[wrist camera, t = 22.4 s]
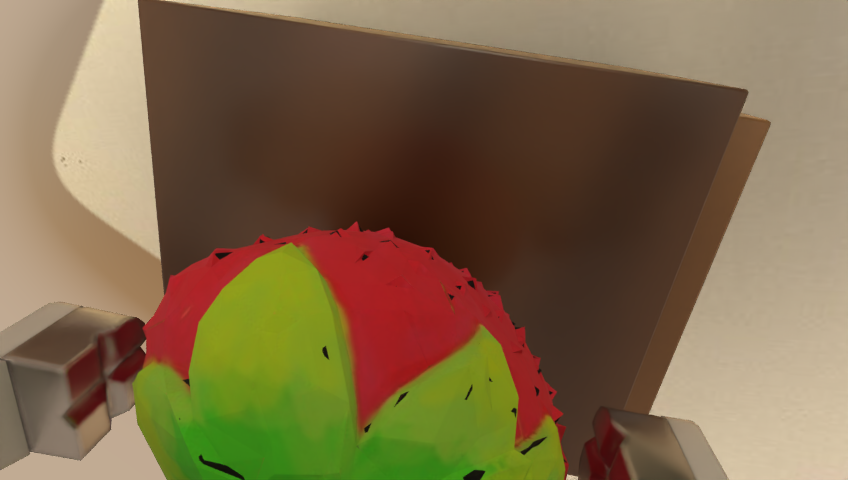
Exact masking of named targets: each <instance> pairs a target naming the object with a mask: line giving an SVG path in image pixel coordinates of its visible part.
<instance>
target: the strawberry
mask: <svg viewBox="0 0 848 480" xmlns="http://www.w3.org/2000/svg"><path fill="white" fill-rule="evenodd" d="M498 293H499V291H489V290H485V289H484V288H483V285H482V282H478V281H476V278H472V277H471V275H470V273H469V271H468V269H467V268H464V269H460V270H459V269H457V268H456V267H454V266H453V264H452V262H451V263H448V262H447V261H445V260H444V259H442V258H441V257H439V255H438V254H437V253H436V251H435V250H434V248H430V247H421V246H418V245H416V244H413V243H410V242H407V241H405V240H402V239H399V238H396V237H395V235H394V233H393V231H391V230H390V228H386V229H383V230H380V231H377V232H371V231H370V230H369V229H368V230H366V231H363V230H362V229H361V228H360V226H359V225H358V223H357V221H356V222H355V223H354V224H353V225H352V226H351V227H350V228H348V229H347V230H343V229H342V228H340V229H338V230H327V231H321V230H318V229H315V228H312V227H309V226H308V228H307V229H305V230H304V231H302V232H301V233H299V234H297V235H293V236H288V237H284V238H280V239H276V240H273V239H270V238H269V237H265V236H264V235H263V234H262V235H261V236H260V237H259V238H258V239H257V241H256V242H255V243H254V244H253V245H251V246H246V247H242V248H237V249H225V248H216V249H215V250H214V251H213V252H212V253H211V255H210V256H209V257H207V258H205V259H202V260H200V261H198V262H196V263H194V264H192V265H190V266H189V267H187V268H186V269H184V270H183V271H181V272H180V273H178V274H177V275H170V279H169V283H168V287H167V290H166V294H165V295H164V297H163V299H162V301H161V303H160V305H159V307H158V309H157V311H156V312H155V314H154V316H153V317H152V318H151V319H150V320H149V321H148V322H147V324H146V325H145V326H144V327H143V328H142V329H143V331H144V333H145V336H146V340H147V341H146V346H147V347H146V349H147V351H146V356H145V360H144V364H143V369H142V370H141V371H140V372H138V374H137V376H136V379H135V381H134V382H133V383H132V385H133V391H134V399H135V407H136V415H137V423H138V426H139V427H140V429H141V431H142V433H143V435H144V437H145V439H146V441H147V443H148V445H149V446H150V448H151V450H152V452H153V454H154V456H155V458H156V460H157V462H158V464H159V465H160V467H161V469H162V471H163V473H164V475H165V477H166V479H167V480H566V477H567V472H568V467H569V464H568V462H567V459H566V457H565V455H564V452H563V450H562V445H561V440H562V437H563V435H564V432H565V429H566V427H565V426H563V425H560V424H558V423H557V421H558V420H559V418H560V416H562V415H563V413H562V412H561V411H559V410H558V409H557V408H556V407H554V406H553V403H552V399H553V398H554V396H555V394H556V393H557V391H555V390H554V389H553V388H552V387H550V385H549V384H548V383H547V382H545V380H544V377H543V375H542V373H541V371H542V370H541V369H539V363H540V359H541V358H539V357H536V356H534V355H532V354H531V352H530V350H529V348H528V346H527V344H526V343H525V327H522V328H520V327H515V323H514V322H512V321H511V320H510V318H509V316H510V315H509V314H508V313H506V312H505V311H504V310H503V305H502V301H501V296H500V295H498Z"/></svg>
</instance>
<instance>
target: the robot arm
mask: <svg viewBox="0 0 848 480" xmlns="http://www.w3.org/2000/svg"><path fill="white" fill-rule="evenodd" d="M144 326H145V323H144V322H143V321H141V320H140V319H139V318H137V317H132V316H127V315H123V314H118V313H113V312H108V311H104V310H99V309H94V308H90V307H83V306H79V305H74V304H69V303H64V302H54V303H48V304H47V305H45V306H44V307H42V308H40V309H38V310H37V311H35V312H33V313H32V314H30V315H28V316H27V317H25V318H23V319H22V320H20V321H18V322H17V323H15V324H13V325H12V326H10V327H8V328H7V329H5V330H3V331H2V332H0V470H2V469H3V468H5V467H7V466H9V465H11V464H13V463H15V462H17V461H19V460H20V459H22V458H24V457H26V456H28V455H29V454H30V452H35V453H41V454H46V455H52V456H58V457H63V458H69V459H75V460H80V461H81V460H82V459H83V458H84V457H85V456H86V455H87V454H88V453H89V452H90V451H91V449H93V448H94V447H95V446H96V444H97V443H98V442H99V441H100V440H101V439H102V438H103V437H104V436H105V435H106V434H107V433H108V432H109V431H110V430H111V419H112V418H113V417H116V416H118V415H120V414H122V413H125V412H127V411H129V410H130V409H131V408H132V407H133V406H134V405H135V399H134V391H133V385H132V383H133V382H134V381H135V379H136V376H137V374H138V372H140V371H141V370H142V369H143V364H144V360H145V356H146V354H145V352H144V351H143V350H142V348H141V347H140V346H141V345H142V344H143V343H144V341H145V340H146V336H145V333H144V331H143V329H142V328H143V327H144ZM592 426H593V430H594V434H595V437H593V438H591V439H590V440H588V441H587V442H585V443H584V446H583V449H582V452H581V456H580V460H579V469H578V480H729V479H728V477H727V475H726V474H725V472H724V470H723V468H722V467H721V465H720V463H719V461H718V459H717V458H716V456H715V454H714V452H713V451H712V449H711V447H710V445H709V443H708V442H707V440H706V438H705V436H704V435H703V433H702V431H701V429H700V427H699V426H698V425H697V424H695V423H694V422H693V421H689V420H683V419H677V418H671V417H665V416H661V417H659V416H654V415H648V414H643V413H638V412H632V411H627V410H621V409H616V408H610V407H605V406H600V408H599V409H598V410H597V411H596V413H595V416H594V419H593V421H592Z"/></svg>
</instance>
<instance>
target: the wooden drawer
mask: <svg viewBox="0 0 848 480" xmlns="http://www.w3.org/2000/svg"><path fill="white" fill-rule="evenodd" d="M770 123H771V122H770V121H768V120H765V119H762V118H758V117H755V116H751V115H747V114H744V113H740V116H739V118H738V121H737V123H736V126H735V128H734V131H733V134H732V136H731V139H730V141H729V144H728V146H727V149H726V151H725V154H724V156H723V159H722V162H721V164H720V167H719V169H718V172H717V174H716V177H715V179H714V182H713V184H712V187H711V190H710V192H709V195H708V197H707V200H706V202H705V205H704V207H703V210H702V212H701V215H700V218H699V220H698V223H697V225H696V228H695V230H694V233H693V235H692V238H691V240H690V243H689V246H688V248H687V251H686V253H685V256H684V258H683V261H682V263H681V266H680V268H679V271H678V274H677V276H676V279H675V281H674V284H673V286H672V289H671V291H670V294H669V296H668V299H667V302H666V304H665V307H664V309H663V312H662V314H661V317H660V319H659V322H658V324H657V327H656V330H655V332H654V335H653V337H652V340H651V342H650V345H649V347H648V350H647V353H646V355H645V358H644V360H643V363H642V365H641V368H640V370H639V373H638V375H637V378H636V381H635V383H634V386H633V388H632V391H631V393H630V396H629V398H628V401H627V403H626V406H625V409H624V410H627V411H632V412H638V413H643V414H649V412H650V409H651V407H652V405H653V402H654V400H655V398H656V395H657V393H658V390H659V388H660V386H661V383H662V381H663V379H664V376H665V374H666V371H667V369H668V367H669V364H670V362H671V360H672V357H673V355H674V352H675V350H676V348H677V345H678V343H679V341H680V338H681V336H682V333H683V331H684V329H685V326H686V324H687V322H688V319H689V317H690V314H691V312H692V310H693V307H694V305H695V303H696V300H697V298H698V295H699V293H700V291H701V288H702V286H703V284H704V281H705V279H706V276H707V274H708V272H709V269H710V267H711V265H712V262H713V260H714V257H715V255H716V253H717V250H718V248H719V246H720V243H721V241H722V238H723V236H724V234H725V231H726V229H727V227H728V224H729V222H730V219H731V217H732V215H733V212H734V210H735V208H736V205H737V203H738V200H739V198H740V196H741V193H742V191H743V189H744V186H745V184H746V181H747V179H748V177H749V174H750V172H751V170H752V167H753V165H754V162H755V160H756V158H757V155H758V153H759V151H760V148H761V146H762V143H763V141H764V139H765V136H766V134H767V132H768V129H769V127H770Z"/></svg>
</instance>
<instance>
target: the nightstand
mask: <svg viewBox="0 0 848 480" xmlns="http://www.w3.org/2000/svg"><path fill="white" fill-rule="evenodd" d="M138 8H139V19H140V30H141V41H142V52H143V64H144V75H145V86H146V97H147V108H148V119H149V131H150V142H151V153H152V164H153V175H154V187H155V198H156V209H157V220H158V231H159V242H160V254H161V265H162V276H163V287H164V295H165V294H166V290H167V287H168V283H169V279H170V275H177V274H178V273H180V272H181V271H183V270H184V269H186V268H187V267H189V266H190V265H192V264H194V263H196V262H198V261H200V260H202V259H205V258H207V257H209V256H210V255H211V253H212V252H213V251H214V250H215V249H216V248H225V249H237V248H242V247H246V246H251V245H253V244H254V243H255V242H256V241H257V239H258V238H259V237H260V236H261V235H262V234H263V235H264V236H265V237H269V238H270V239H273V240H276V239H280V238H284V237H288V236H293V235H297V234H299V233H301V232H302V231H304V230H305V229H307V228H308V226H309V227H312V228H315V229H318V230H321V231H327V230H338V229H340V228H342V229H343V230H347V229H348V228H350V227H351V226H352V225H353V224H354V223H355V222H356V221H357V223H358V225H359V226H360V228H361V229H362V230H363V231H366V230H368V229H369V230H370V231H371V232H377V231H380V230H383V229H386V228H390V230H391V231H393V233H394V235H395V237H396V238H399V239H402V240H405V241H407V242H410V243H413V244H416V245H418V246H421V247H430V248H434V250H435V251H436V253H437V254H438V255H439V257H441V258H442V259H444V260H445V261H447V262H448V263H451V262H452V264H453V266H454V267H456V268H457V269H459V270H460V269H464V268H467V269H468V271H469V273H470V275H471V277H472V278H476V281H478V282H482V285H483V288H484V289H485V290H489V291H499V293H498V295H500V296H501V301H502V305H503V310H504V311H505V312H506V313H508V314H509V315H510V316H509V318H510V320H511V321H512V322H514V323H515V327H520V328H522V327H525V343H526V344H527V346H528V348H529V350H530V352H531V354H532V355H534V356H536V357H539V358H541V359H540V363H539V369H541V370H542V371H541V373H542V375H543V377H544V380H545V382H547V383H548V384H549V385H550V387H552V388H553V389H554V390H555V391H557V393H556V394H555V396H554V398H553V399H552V403H553V406H554V407H556V408H557V409H558V410H559V411H561V412H562V413H563V415H562V416H560V418H559V420H558V421H557V423H558V424H560V425H563V426H565V427H566V429H565V432H564V435H563V437H562V440H561V445H562V450H563V452H564V455H565V457H566V459H567V462H568V464H569V467H568V472H567V474H568V475H573V476H578V469H579V460H580V456H581V452H582V449H583V446H584V443H585V442H587V441H588V440H590V439H591V438H593V437H595V434H594V430H593V426H592V421H593V419H594V416H595V413H596V411H597V410H598V409H599V408H600V406H605V407H610V408H616V409H621V410H624V409H625V406H626V403H627V401H628V398H629V396H630V393H631V391H632V388H633V386H634V383H635V381H636V378H637V375H638V373H639V370H640V368H641V365H642V363H643V360H644V358H645V355H646V353H647V350H648V347H649V345H650V342H651V340H652V337H653V335H654V332H655V330H656V327H657V324H658V322H659V319H660V317H661V314H662V312H663V309H664V307H665V304H666V302H667V299H668V296H669V294H670V291H671V289H672V286H673V284H674V281H675V279H676V276H677V274H678V271H679V268H680V266H681V263H682V261H683V258H684V256H685V253H686V251H687V248H688V246H689V243H690V240H691V238H692V235H693V233H694V230H695V228H696V225H697V223H698V220H699V218H700V215H701V212H702V210H703V207H704V205H705V202H706V200H707V197H708V195H709V192H710V190H711V187H712V184H713V182H714V179H715V177H716V174H717V172H718V169H719V167H720V164H721V162H722V159H723V156H724V154H725V151H726V149H727V146H728V144H729V141H730V139H731V136H732V134H733V131H734V128H735V126H736V123H737V121H738V118H739V116H740V113H741V111H742V108H743V106H744V103H745V100H746V98H747V95H748V90H746V89H741V88H736V87H730V86H725V85H720V84H714V83H709V82H703V81H698V80H692V79H687V78H681V77H676V76H671V75H665V74H660V73H654V72H649V71H643V70H638V69H633V68H627V67H621V66H614V65H608V64H601V63H594V62H588V61H581V60H575V59H568V58H561V57H555V56H548V55H542V54H535V53H528V52H522V51H515V50H508V49H502V48H495V47H489V46H482V45H475V44H469V43H462V42H456V41H449V40H442V39H436V38H429V37H423V36H416V35H409V34H403V33H396V32H389V31H383V30H376V29H370V28H363V27H356V26H350V25H343V24H337V23H330V22H323V21H317V20H310V19H304V18H297V17H290V16H282V15H274V14H266V13H258V12H250V11H243V10H235V9H227V8H219V7H211V6H203V5H195V4H187V3H180V2H172V1H164V0H138Z"/></svg>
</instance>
